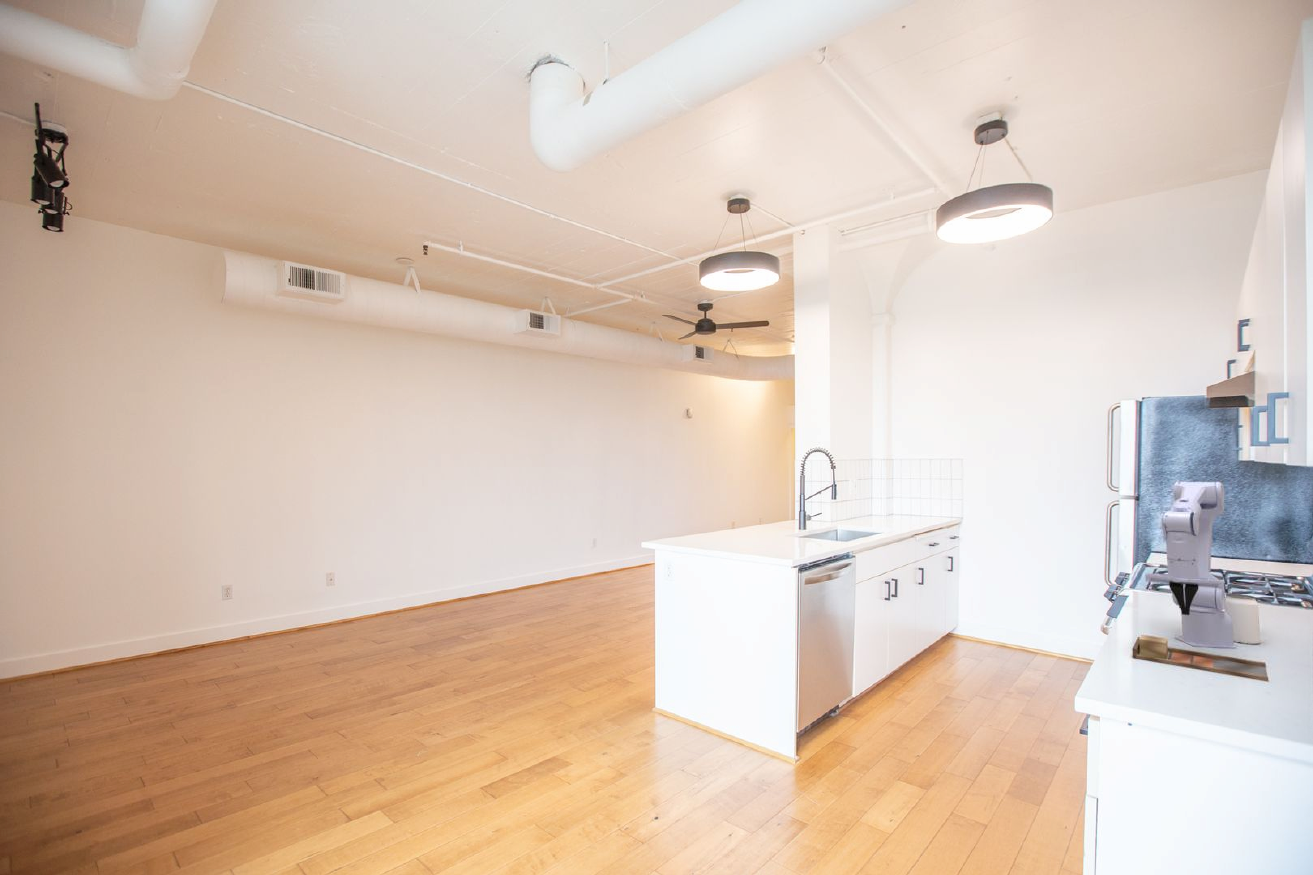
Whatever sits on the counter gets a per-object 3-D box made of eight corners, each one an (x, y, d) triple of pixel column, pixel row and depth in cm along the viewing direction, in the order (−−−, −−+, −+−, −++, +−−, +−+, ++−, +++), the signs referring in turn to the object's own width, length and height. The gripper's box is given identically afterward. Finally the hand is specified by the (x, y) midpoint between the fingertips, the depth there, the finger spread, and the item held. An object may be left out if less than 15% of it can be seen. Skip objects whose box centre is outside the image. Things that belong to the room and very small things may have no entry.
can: (1267, 645, 150) (1264, 599, 151) (1238, 644, 152) (1235, 598, 152) (1247, 637, 157) (1244, 593, 157) (1220, 637, 158) (1217, 592, 159)
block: (1168, 654, 144) (1167, 638, 144) (1166, 659, 141) (1165, 642, 141) (1142, 650, 148) (1141, 634, 148) (1140, 655, 144) (1139, 638, 144)
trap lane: (1265, 666, 135) (1264, 656, 135) (1268, 682, 126) (1267, 670, 126) (1138, 646, 151) (1138, 636, 151) (1132, 658, 142) (1132, 648, 142)
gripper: (1142, 558, 147) (1146, 612, 146) (1222, 564, 136) (1226, 622, 136) (1145, 554, 152) (1148, 606, 151) (1222, 560, 141) (1226, 616, 141)
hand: (1185, 613), depth 144 cm, fingers closed
